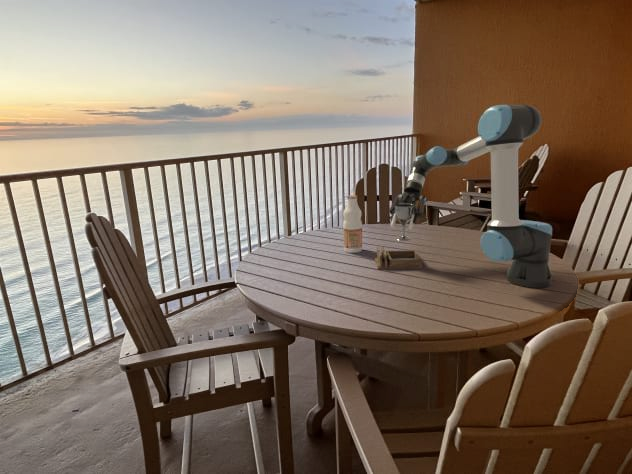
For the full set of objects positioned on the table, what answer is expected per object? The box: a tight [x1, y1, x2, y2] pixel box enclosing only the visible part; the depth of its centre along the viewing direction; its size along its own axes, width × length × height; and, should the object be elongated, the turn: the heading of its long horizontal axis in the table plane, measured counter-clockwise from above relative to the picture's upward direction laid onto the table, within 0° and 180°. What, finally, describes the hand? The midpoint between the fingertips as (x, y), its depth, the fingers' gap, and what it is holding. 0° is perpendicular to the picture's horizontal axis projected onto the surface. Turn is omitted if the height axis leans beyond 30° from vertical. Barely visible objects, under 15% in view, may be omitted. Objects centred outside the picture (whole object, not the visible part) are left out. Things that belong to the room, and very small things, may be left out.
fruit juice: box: [342, 194, 363, 254], centre depth 189 cm, size 9×9×28 cm
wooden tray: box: [374, 246, 423, 270], centre depth 169 cm, size 14×19×6 cm
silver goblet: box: [395, 203, 414, 242], centre depth 165 cm, size 8×8×15 cm
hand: (400, 228), depth 163 cm, fingers closed on silver goblet, 7 cm apart
